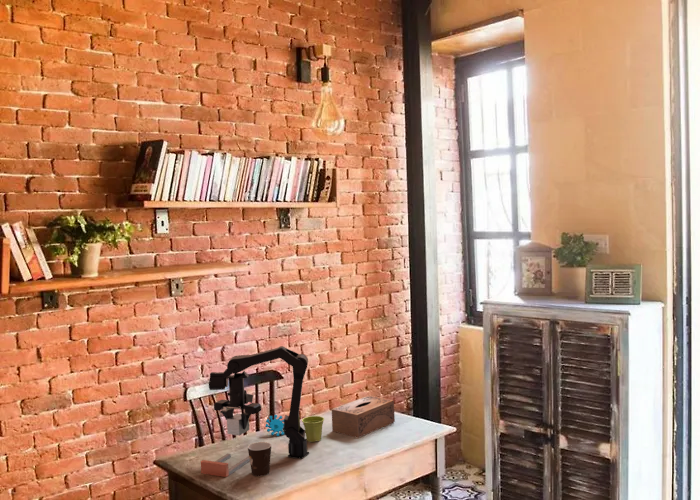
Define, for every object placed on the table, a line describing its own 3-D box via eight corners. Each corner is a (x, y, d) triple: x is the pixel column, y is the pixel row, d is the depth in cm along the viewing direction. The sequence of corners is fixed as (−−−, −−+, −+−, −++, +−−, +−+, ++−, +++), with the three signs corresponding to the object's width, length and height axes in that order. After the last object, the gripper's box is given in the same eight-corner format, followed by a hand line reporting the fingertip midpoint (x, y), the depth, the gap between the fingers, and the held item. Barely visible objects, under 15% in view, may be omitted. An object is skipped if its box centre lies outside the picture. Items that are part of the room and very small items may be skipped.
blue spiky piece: (266, 435, 278) (264, 413, 285) (263, 441, 282) (262, 420, 289) (292, 434, 282) (289, 413, 288) (288, 441, 286) (286, 420, 292)
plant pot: (298, 442, 272) (297, 421, 272) (308, 435, 281) (307, 415, 281) (319, 444, 269) (318, 423, 268) (328, 437, 278) (327, 416, 277)
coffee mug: (249, 469, 246) (248, 442, 245) (272, 467, 246) (271, 441, 246) (247, 481, 234) (246, 454, 233) (271, 479, 235) (270, 452, 234)
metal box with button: (250, 429, 260) (249, 414, 259) (239, 435, 253) (238, 420, 252) (238, 427, 262) (237, 413, 262) (227, 434, 255) (226, 418, 255)
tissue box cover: (369, 416, 304) (368, 395, 304) (394, 422, 295) (394, 400, 294) (332, 431, 285) (331, 409, 284) (358, 438, 275) (357, 414, 275)
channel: (251, 459, 255) (251, 448, 255) (226, 476, 239) (225, 464, 238) (227, 456, 259) (227, 445, 259) (201, 473, 243) (200, 461, 243)
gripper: (268, 385, 259) (269, 424, 260) (228, 382, 267) (230, 419, 268) (252, 393, 249) (254, 433, 250) (212, 389, 257) (213, 428, 258)
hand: (238, 428), depth 257 cm, fingers closed on metal box with button, 5 cm apart
